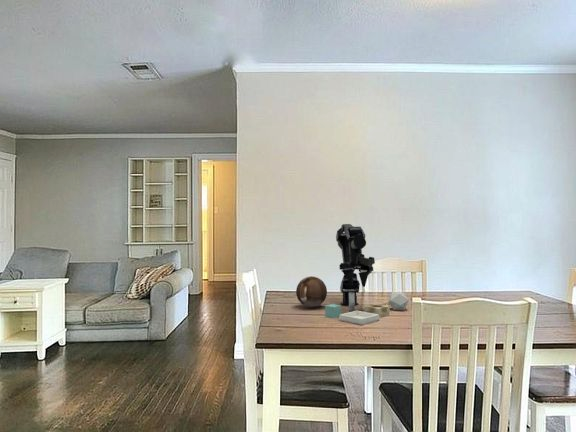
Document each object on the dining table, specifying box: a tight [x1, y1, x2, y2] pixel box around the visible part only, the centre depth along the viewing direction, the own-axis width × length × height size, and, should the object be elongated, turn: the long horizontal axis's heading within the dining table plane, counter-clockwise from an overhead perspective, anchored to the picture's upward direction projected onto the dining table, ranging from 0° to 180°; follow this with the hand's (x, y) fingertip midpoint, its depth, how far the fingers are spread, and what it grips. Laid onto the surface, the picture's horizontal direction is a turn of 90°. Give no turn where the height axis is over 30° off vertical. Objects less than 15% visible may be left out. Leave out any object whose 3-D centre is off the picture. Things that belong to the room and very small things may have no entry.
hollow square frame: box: [363, 303, 390, 319], centre depth 212 cm, size 8×8×4 cm
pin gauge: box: [348, 292, 356, 312], centre depth 218 cm, size 3×3×9 cm
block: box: [324, 303, 342, 319], centre depth 209 cm, size 5×5×5 cm
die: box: [387, 291, 409, 311], centre depth 223 cm, size 8×9×10 cm
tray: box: [338, 310, 380, 326], centre depth 201 cm, size 12×12×2 cm
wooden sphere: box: [295, 276, 328, 308], centre depth 230 cm, size 15×15×15 cm
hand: (357, 286), depth 217 cm, fingers open, 9 cm apart
